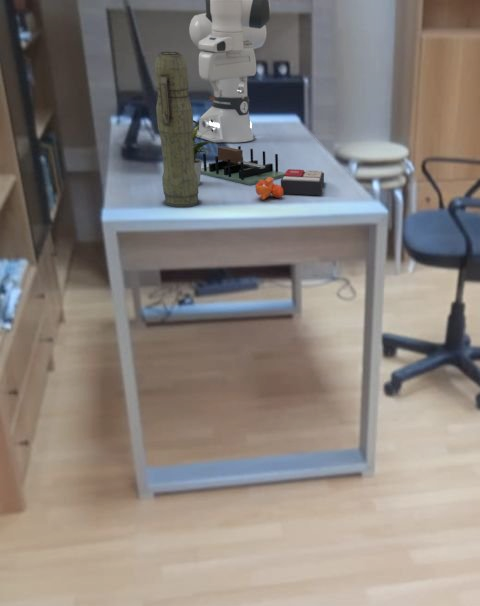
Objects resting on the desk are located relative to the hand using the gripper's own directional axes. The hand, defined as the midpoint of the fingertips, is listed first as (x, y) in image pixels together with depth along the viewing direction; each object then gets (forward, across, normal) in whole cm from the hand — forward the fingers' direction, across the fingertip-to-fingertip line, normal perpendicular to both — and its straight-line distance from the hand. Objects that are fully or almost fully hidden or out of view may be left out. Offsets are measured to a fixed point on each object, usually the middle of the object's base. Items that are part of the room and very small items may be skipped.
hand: (229, 95), depth 228 cm
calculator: (+20, +5, +32) cm, 38 cm away
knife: (+17, +5, +8) cm, 19 cm away
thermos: (+20, +39, +19) cm, 47 cm away
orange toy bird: (+20, +19, +32) cm, 42 cm away
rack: (+20, +5, +8) cm, 22 cm away
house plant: (+20, +25, +6) cm, 32 cm away
